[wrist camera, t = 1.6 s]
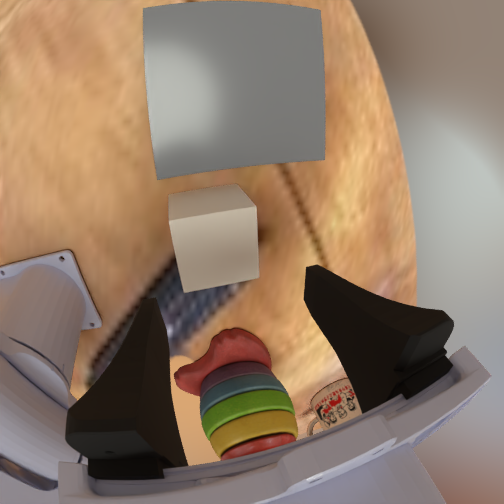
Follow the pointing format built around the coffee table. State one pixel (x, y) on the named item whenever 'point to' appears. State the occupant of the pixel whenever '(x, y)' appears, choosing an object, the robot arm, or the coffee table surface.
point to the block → (214, 236)
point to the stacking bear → (239, 396)
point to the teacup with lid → (334, 405)
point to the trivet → (233, 85)
